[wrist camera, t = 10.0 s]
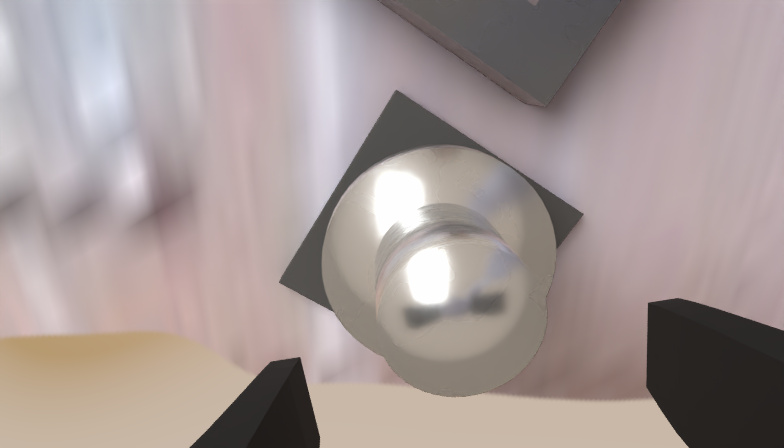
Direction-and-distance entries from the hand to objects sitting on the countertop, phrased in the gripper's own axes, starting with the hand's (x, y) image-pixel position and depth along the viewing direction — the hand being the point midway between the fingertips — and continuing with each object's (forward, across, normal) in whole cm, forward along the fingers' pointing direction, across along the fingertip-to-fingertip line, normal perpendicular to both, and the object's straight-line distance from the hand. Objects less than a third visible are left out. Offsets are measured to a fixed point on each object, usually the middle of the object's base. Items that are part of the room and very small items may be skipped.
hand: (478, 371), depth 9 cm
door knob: (+8, 0, 0) cm, 8 cm away
